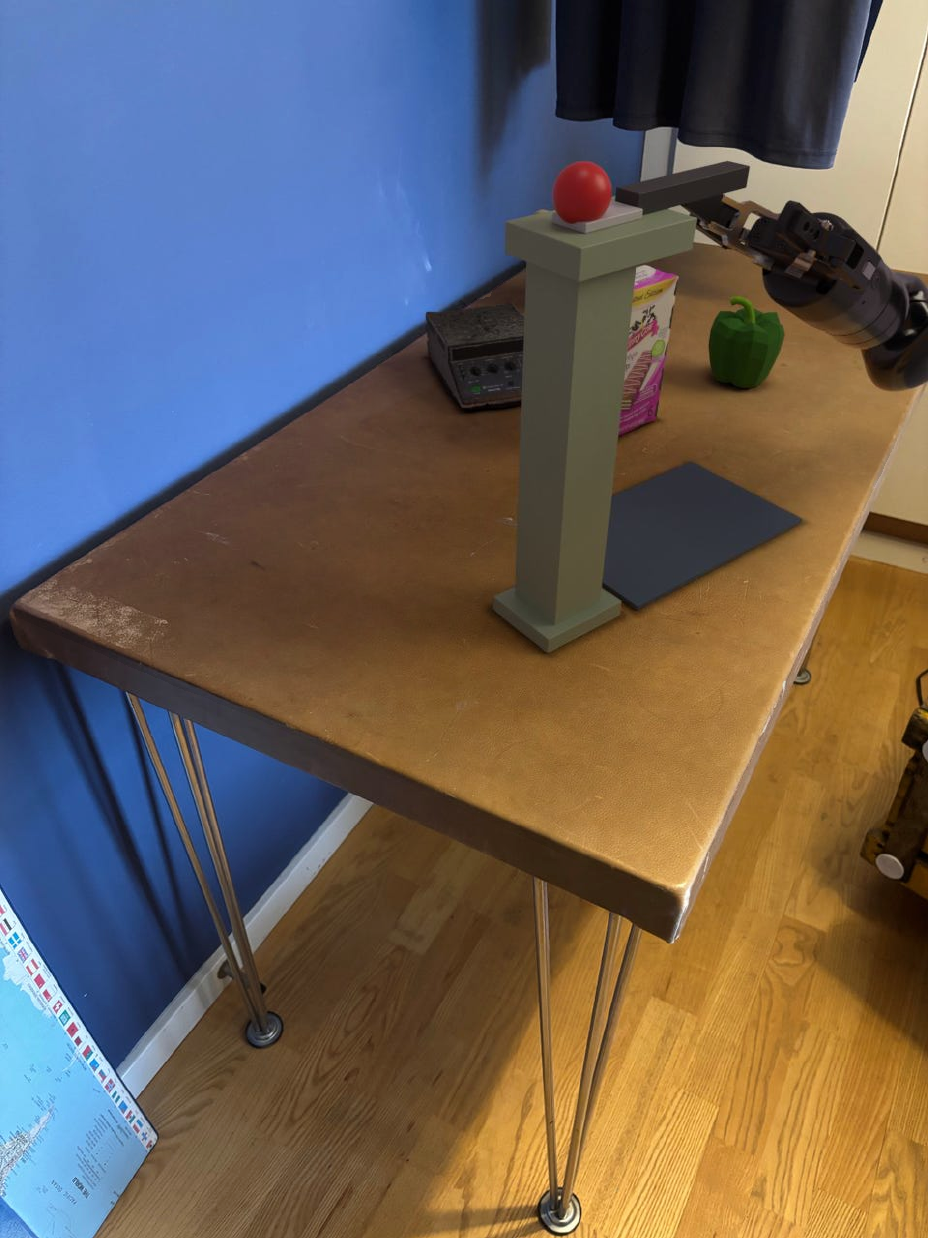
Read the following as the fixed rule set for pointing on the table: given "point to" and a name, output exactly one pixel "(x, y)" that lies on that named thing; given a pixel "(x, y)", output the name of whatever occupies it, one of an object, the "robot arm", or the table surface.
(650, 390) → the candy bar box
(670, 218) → the stand
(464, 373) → the electronic device
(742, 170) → the bar with red ball
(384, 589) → the table surface
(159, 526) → the table surface
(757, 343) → the bell pepper
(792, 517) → the mat
